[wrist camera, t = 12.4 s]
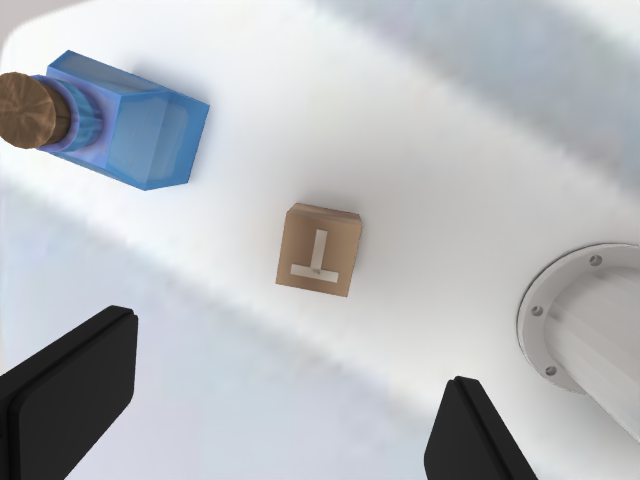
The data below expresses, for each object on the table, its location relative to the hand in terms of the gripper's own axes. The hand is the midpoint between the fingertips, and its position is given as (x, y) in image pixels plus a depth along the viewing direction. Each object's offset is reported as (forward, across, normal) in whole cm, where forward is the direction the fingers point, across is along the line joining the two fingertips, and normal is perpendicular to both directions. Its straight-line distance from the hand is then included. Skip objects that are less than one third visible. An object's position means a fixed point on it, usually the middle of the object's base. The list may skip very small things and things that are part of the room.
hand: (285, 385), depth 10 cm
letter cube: (+18, 0, 0) cm, 18 cm away
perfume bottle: (+18, +14, -6) cm, 24 cm away
